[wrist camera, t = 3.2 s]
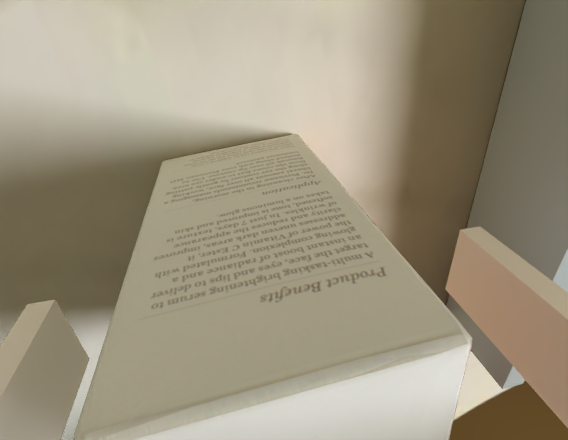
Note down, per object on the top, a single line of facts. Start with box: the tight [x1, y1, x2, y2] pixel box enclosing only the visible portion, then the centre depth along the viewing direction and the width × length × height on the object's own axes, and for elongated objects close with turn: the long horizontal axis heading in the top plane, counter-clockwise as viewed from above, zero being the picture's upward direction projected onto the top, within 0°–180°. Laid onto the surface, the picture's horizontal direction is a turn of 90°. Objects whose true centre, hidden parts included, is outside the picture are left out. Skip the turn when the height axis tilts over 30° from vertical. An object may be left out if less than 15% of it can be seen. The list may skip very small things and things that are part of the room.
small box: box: [73, 134, 472, 440], centre depth 11 cm, size 8×6×10 cm
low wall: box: [446, 0, 568, 389], centre depth 14 cm, size 1×20×5 cm, turn 4°
